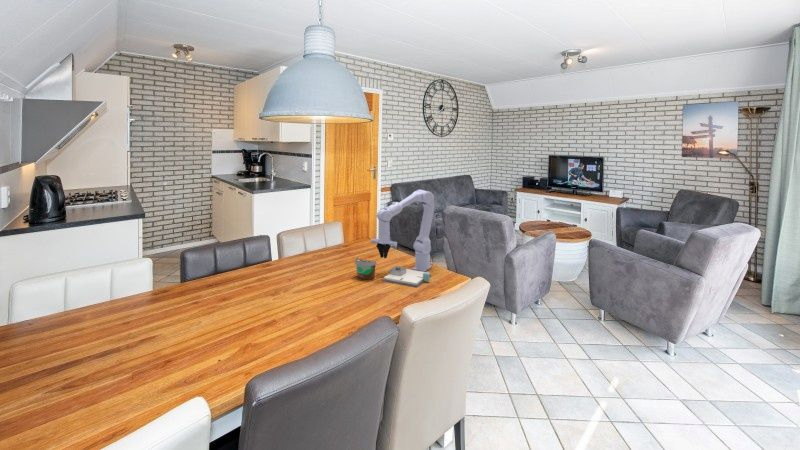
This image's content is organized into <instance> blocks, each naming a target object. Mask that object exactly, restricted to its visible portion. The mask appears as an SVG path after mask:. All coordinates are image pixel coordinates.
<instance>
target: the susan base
mask: <svg viewBox="0 0 800 450" xmlns="http://www.w3.org/2000/svg"><path fill="white" fill-rule="evenodd" d="M431 277H432V274H430V278H431ZM382 282H385V283H390V284H396V285H401V286H406V287H412V288H419V287H420V286H421V285H422V284H423V283H425V282H426V281H424V280H422V281H421V282H420V283H419V284H417V285H413V284H408V283H402V282H397V281H391V280H386V279H384V278H383V279H382Z"/></svg>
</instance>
